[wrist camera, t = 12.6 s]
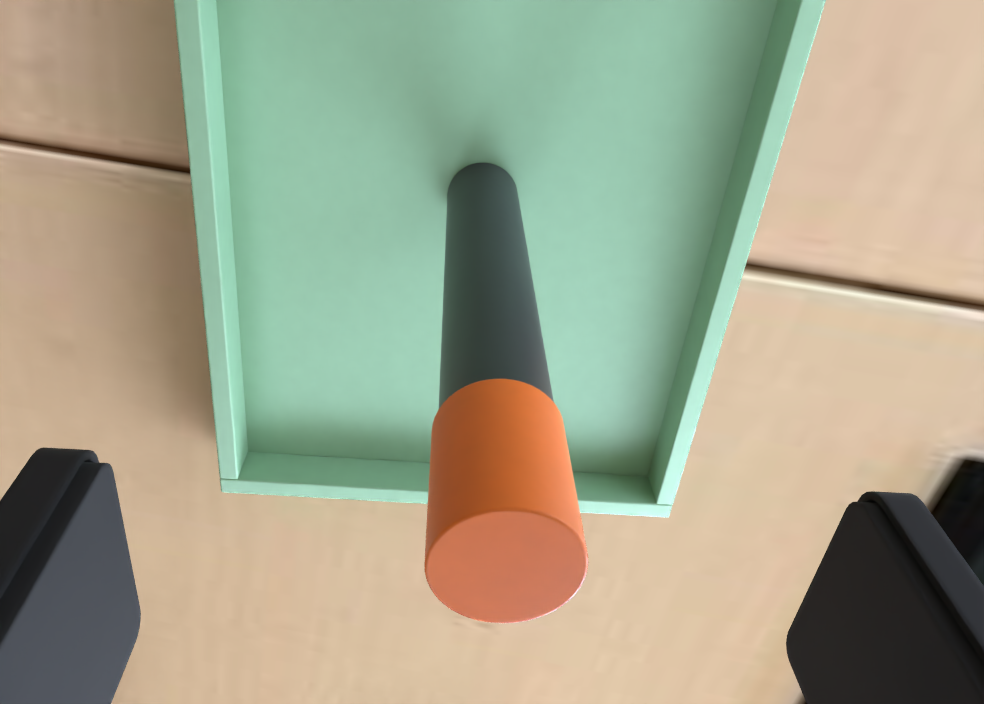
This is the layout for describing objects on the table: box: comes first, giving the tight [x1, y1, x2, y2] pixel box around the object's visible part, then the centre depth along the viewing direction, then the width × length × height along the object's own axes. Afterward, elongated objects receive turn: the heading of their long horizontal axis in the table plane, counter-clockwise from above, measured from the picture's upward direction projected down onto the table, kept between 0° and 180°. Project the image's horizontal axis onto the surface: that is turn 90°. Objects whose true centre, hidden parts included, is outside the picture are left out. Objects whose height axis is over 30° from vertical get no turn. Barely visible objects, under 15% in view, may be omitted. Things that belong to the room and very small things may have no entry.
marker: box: [425, 163, 588, 623], centre depth 16 cm, size 2×2×14 cm
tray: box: [174, 0, 826, 517], centre depth 22 cm, size 21×15×2 cm
